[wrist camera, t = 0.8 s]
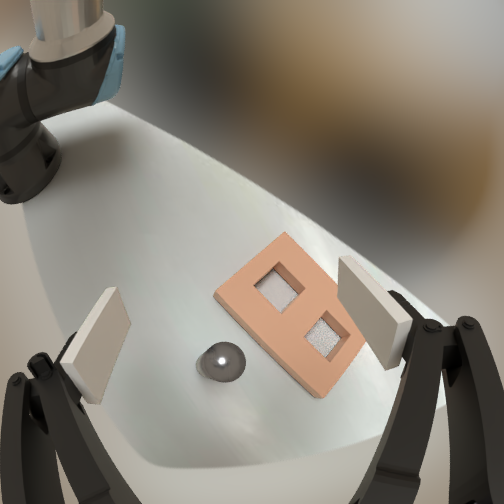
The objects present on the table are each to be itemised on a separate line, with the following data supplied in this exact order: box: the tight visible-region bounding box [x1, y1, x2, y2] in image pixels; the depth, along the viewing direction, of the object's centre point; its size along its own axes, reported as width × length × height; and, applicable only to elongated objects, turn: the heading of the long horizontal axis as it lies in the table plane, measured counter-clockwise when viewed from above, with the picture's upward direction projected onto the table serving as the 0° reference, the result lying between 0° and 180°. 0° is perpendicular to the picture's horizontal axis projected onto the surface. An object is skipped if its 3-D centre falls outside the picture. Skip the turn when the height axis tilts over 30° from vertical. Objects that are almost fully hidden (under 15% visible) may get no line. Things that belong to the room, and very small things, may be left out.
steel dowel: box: [196, 342, 246, 382], centre depth 25 cm, size 3×3×14 cm
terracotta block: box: [213, 232, 366, 398], centre depth 35 cm, size 19×13×2 cm
